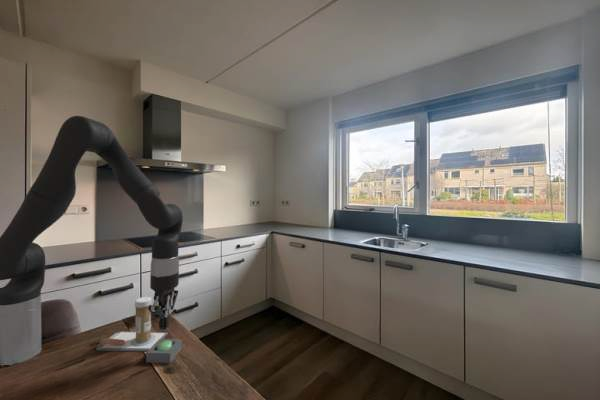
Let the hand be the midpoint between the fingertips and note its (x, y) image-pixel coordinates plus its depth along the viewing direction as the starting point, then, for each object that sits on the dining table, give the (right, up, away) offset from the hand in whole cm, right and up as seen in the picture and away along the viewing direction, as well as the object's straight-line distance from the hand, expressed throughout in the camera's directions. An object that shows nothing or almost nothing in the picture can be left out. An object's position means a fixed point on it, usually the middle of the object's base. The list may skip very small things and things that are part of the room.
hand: (163, 328), depth 77 cm
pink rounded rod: (-18, -8, +4) cm, 20 cm away
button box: (0, -8, 0) cm, 8 cm away
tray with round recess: (-13, -8, +7) cm, 17 cm away
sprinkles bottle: (-10, -7, +7) cm, 14 cm away
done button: (0, -8, 0) cm, 8 cm away
